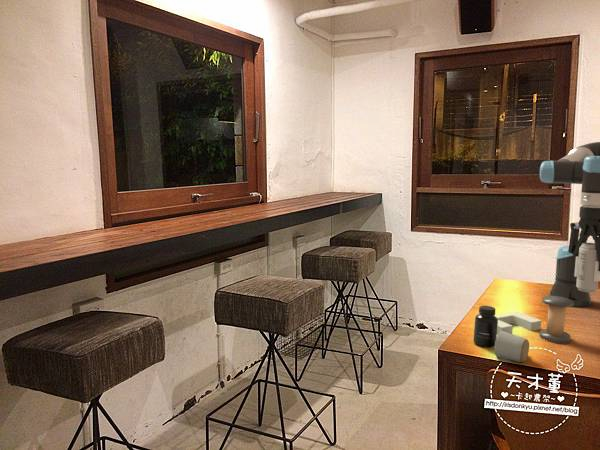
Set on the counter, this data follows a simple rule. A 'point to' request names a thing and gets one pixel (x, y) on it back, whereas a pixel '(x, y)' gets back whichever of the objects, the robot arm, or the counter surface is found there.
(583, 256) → the energy drink can
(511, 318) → the notched board
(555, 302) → the bobbin
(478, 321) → the supplement bottle
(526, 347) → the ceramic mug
